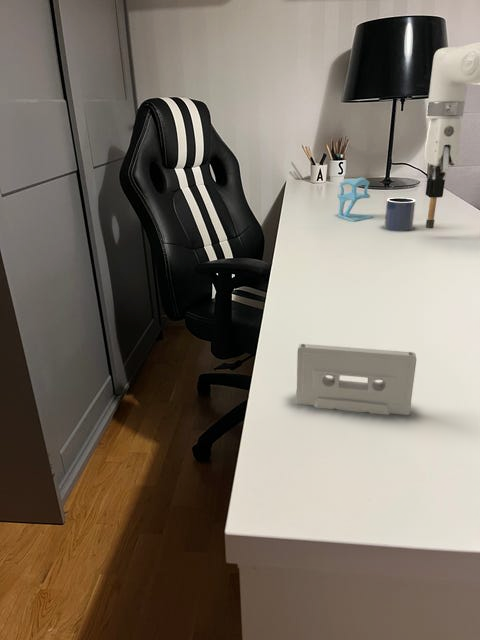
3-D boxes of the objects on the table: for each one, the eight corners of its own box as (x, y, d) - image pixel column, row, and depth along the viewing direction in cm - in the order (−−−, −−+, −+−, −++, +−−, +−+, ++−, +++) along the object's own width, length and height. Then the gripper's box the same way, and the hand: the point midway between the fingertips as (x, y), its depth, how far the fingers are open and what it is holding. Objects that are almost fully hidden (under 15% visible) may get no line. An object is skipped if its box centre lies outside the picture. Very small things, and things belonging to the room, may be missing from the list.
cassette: (294, 411, 55) (296, 349, 52) (297, 402, 56) (298, 341, 53) (409, 423, 52) (418, 358, 49) (408, 414, 54) (416, 350, 51)
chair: (350, 215, 151) (352, 174, 146) (372, 219, 145) (375, 177, 140) (332, 219, 147) (334, 176, 142) (353, 223, 141) (356, 179, 136)
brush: (432, 226, 120) (439, 171, 115) (434, 228, 119) (442, 172, 114) (424, 226, 121) (431, 171, 115) (426, 228, 119) (434, 172, 114)
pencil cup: (408, 227, 134) (411, 197, 131) (414, 234, 128) (418, 202, 125) (381, 228, 135) (384, 197, 132) (386, 234, 128) (389, 202, 125)
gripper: (475, 111, 102) (461, 202, 109) (451, 110, 116) (440, 191, 124) (437, 112, 103) (426, 202, 110) (418, 111, 117) (409, 191, 124)
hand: (433, 195), depth 117 cm, fingers closed on brush, 1 cm apart
